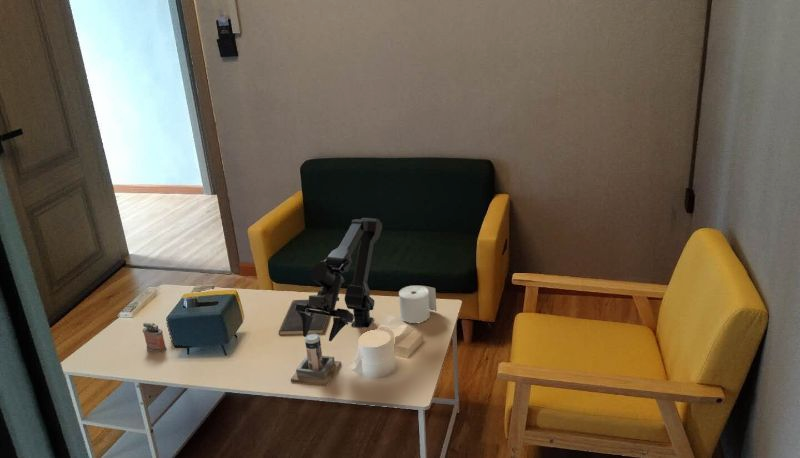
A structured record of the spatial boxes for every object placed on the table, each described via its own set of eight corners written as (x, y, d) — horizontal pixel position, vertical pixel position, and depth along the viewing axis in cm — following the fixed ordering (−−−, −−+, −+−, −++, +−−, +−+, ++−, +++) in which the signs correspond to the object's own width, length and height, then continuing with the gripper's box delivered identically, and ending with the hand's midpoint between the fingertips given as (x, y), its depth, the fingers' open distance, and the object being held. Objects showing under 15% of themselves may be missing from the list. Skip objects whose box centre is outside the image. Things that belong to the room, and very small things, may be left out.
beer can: (324, 372, 193) (320, 339, 189) (309, 375, 192) (304, 341, 188) (323, 364, 197) (319, 331, 193) (308, 366, 197) (303, 334, 192)
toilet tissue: (394, 318, 224) (392, 294, 221) (415, 305, 232) (413, 281, 229) (417, 327, 217) (415, 301, 214) (438, 313, 226) (436, 288, 222)
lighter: (169, 348, 215) (163, 323, 212) (161, 353, 213) (155, 327, 209) (151, 344, 219) (145, 319, 215) (144, 349, 216) (138, 324, 212)
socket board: (306, 360, 202) (305, 351, 201) (341, 364, 199) (340, 354, 197) (290, 381, 191) (289, 372, 190) (326, 386, 188) (325, 376, 187)
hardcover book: (333, 303, 240) (332, 298, 239) (323, 334, 218) (322, 329, 217) (292, 305, 241) (291, 300, 240) (279, 336, 219) (278, 330, 218)
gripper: (293, 280, 196) (279, 327, 190) (345, 286, 188) (332, 336, 183) (309, 291, 205) (296, 336, 200) (359, 298, 198) (347, 345, 193)
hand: (316, 338), depth 194 cm, fingers open, 9 cm apart
